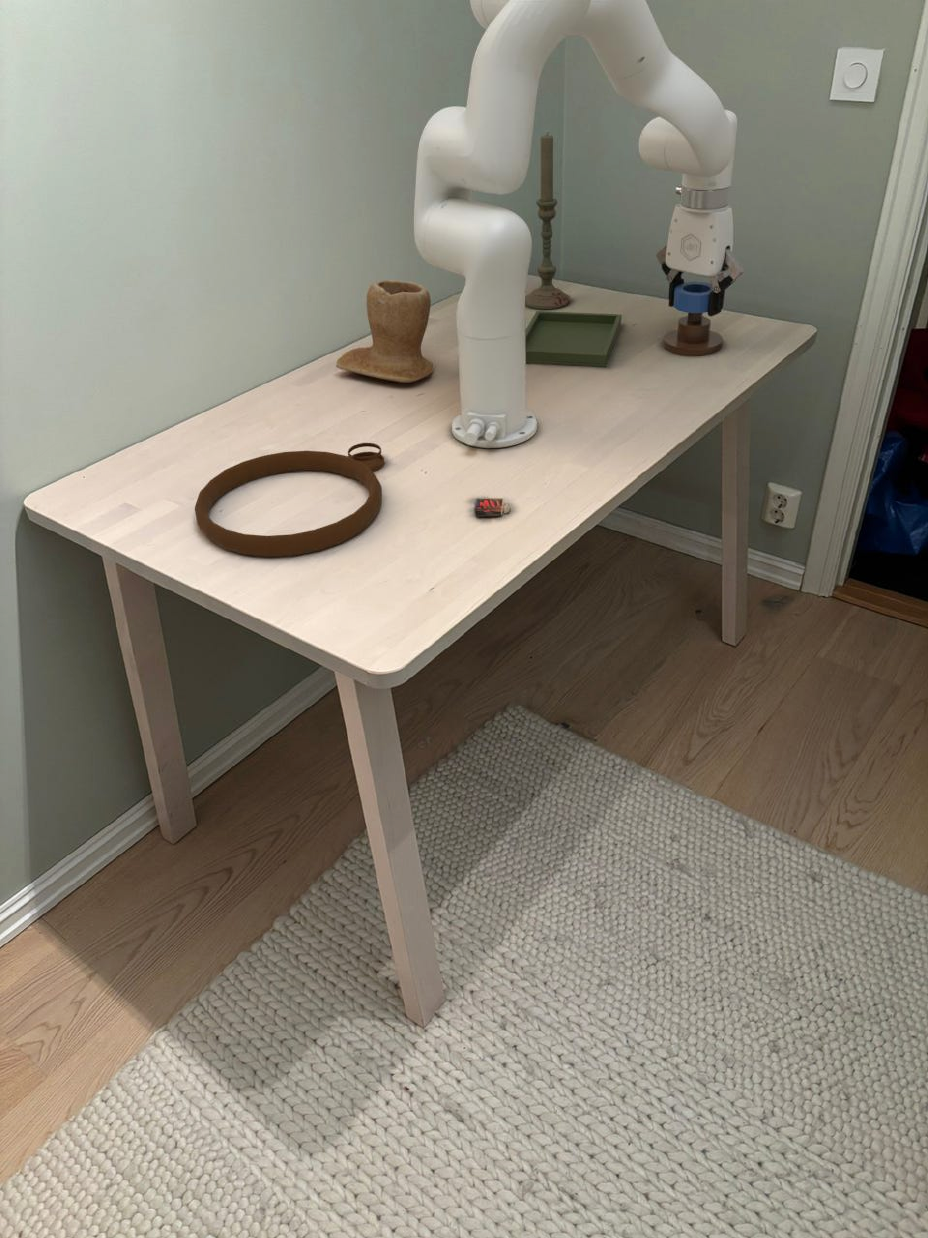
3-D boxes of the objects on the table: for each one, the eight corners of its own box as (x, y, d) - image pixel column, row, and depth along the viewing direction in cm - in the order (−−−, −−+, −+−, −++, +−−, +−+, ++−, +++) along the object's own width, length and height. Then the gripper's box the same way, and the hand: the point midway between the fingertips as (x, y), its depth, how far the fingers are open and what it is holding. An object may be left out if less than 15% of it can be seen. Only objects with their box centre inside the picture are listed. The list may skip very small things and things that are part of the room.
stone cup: (449, 368, 169) (444, 278, 161) (408, 393, 161) (401, 300, 153) (378, 353, 176) (369, 266, 168) (335, 377, 168) (324, 287, 160)
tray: (605, 367, 166) (606, 354, 165) (513, 362, 170) (513, 350, 169) (621, 325, 182) (621, 314, 180) (536, 321, 185) (536, 310, 184)
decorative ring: (444, 456, 136) (293, 559, 117) (445, 476, 138) (296, 580, 119) (310, 419, 148) (152, 506, 129) (313, 437, 150) (158, 526, 131)
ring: (715, 314, 165) (717, 295, 163) (671, 312, 167) (673, 293, 165) (717, 300, 170) (719, 282, 169) (675, 298, 172) (676, 280, 170)
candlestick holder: (546, 313, 189) (546, 139, 171) (513, 302, 195) (510, 133, 177) (580, 300, 193) (583, 130, 176) (546, 290, 199) (546, 124, 182)
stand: (720, 357, 167) (726, 305, 162) (660, 354, 170) (663, 303, 165) (723, 335, 175) (729, 285, 170) (665, 333, 178) (669, 283, 172)
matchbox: (476, 519, 128) (476, 516, 128) (469, 500, 132) (469, 497, 132) (512, 515, 128) (512, 511, 128) (504, 496, 132) (504, 492, 132)
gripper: (645, 194, 161) (639, 304, 172) (740, 210, 151) (727, 326, 162) (673, 185, 166) (664, 293, 176) (766, 200, 155) (752, 313, 166)
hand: (694, 308), depth 169 cm, fingers closed on ring, 7 cm apart
